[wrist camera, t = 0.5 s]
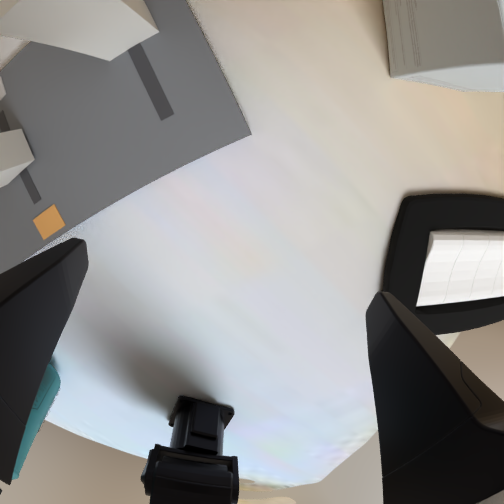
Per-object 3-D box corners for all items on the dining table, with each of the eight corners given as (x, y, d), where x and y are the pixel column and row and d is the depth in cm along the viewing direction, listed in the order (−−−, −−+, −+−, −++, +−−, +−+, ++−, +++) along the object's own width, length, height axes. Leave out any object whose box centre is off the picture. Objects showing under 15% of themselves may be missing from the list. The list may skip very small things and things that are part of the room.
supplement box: (463, 93, 19) (584, 106, 7) (387, 78, 19) (507, 64, 7) (456, 14, 16) (564, -11, 4) (379, -8, 16) (474, -73, 4)
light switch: (549, 206, 21) (520, 325, 25) (532, 200, 23) (506, 314, 28) (404, 189, 21) (378, 351, 25) (388, 184, 23) (368, 333, 28)
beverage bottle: (51, 342, 29) (-30, 485, 10) (76, 383, 31) (19, 519, 13) (16, 341, 29) (-61, 462, 11) (40, 380, 32) (-18, 498, 14)
